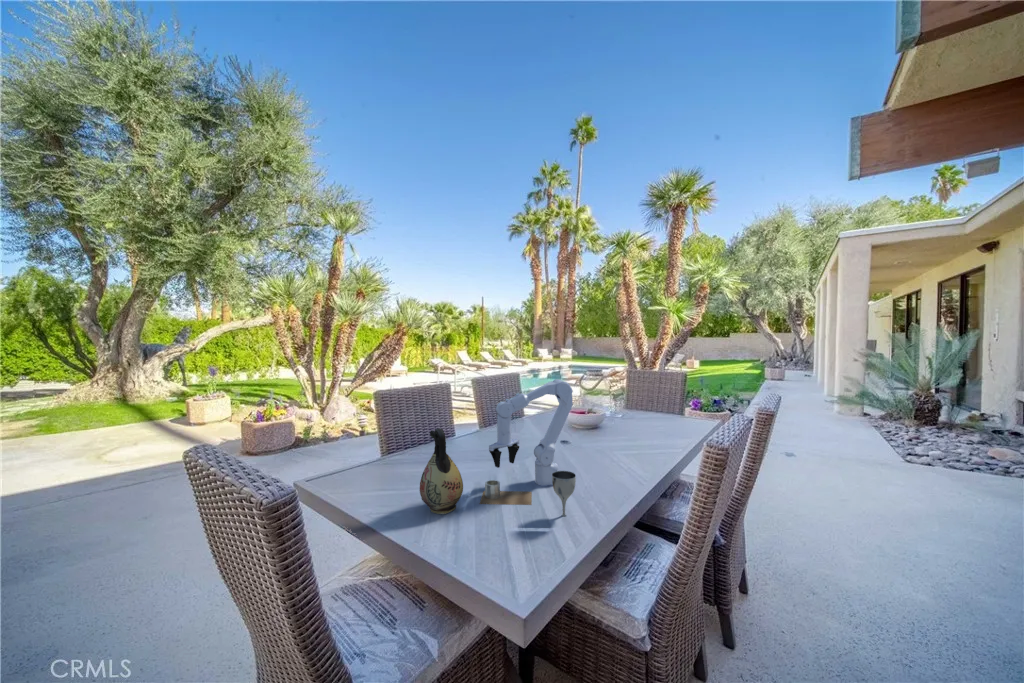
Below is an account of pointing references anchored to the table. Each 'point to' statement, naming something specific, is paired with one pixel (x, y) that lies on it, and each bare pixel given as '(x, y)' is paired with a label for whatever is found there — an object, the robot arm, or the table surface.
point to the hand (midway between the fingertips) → (504, 464)
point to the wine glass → (563, 486)
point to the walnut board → (509, 498)
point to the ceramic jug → (441, 478)
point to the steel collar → (492, 489)
